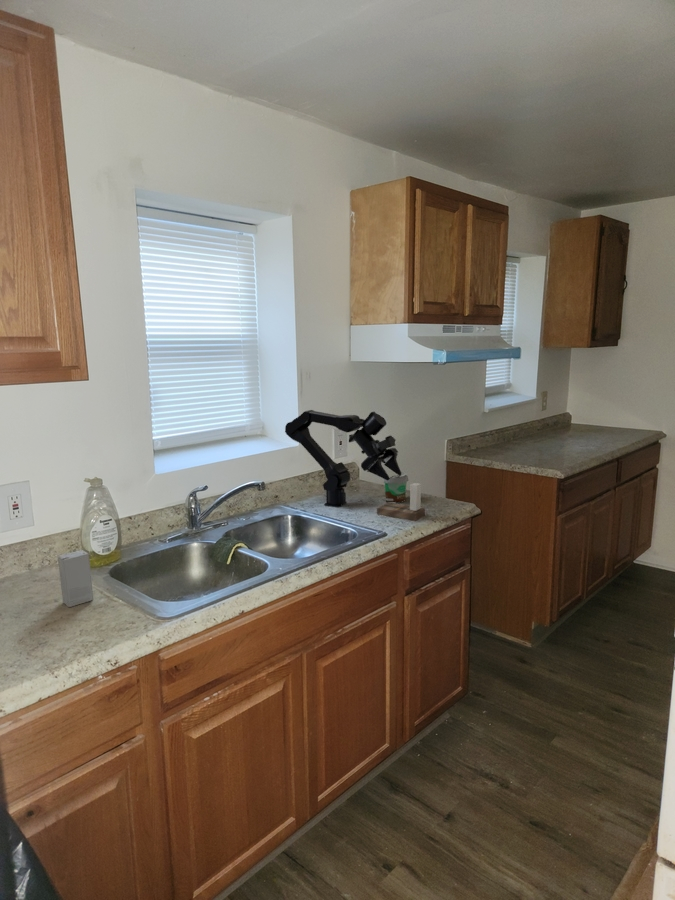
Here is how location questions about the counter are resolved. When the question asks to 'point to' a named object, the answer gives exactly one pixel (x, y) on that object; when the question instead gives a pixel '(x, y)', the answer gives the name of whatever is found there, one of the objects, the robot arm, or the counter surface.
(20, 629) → the counter surface
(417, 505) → the fader
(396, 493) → the food container
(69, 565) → the skincare box
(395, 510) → the console
